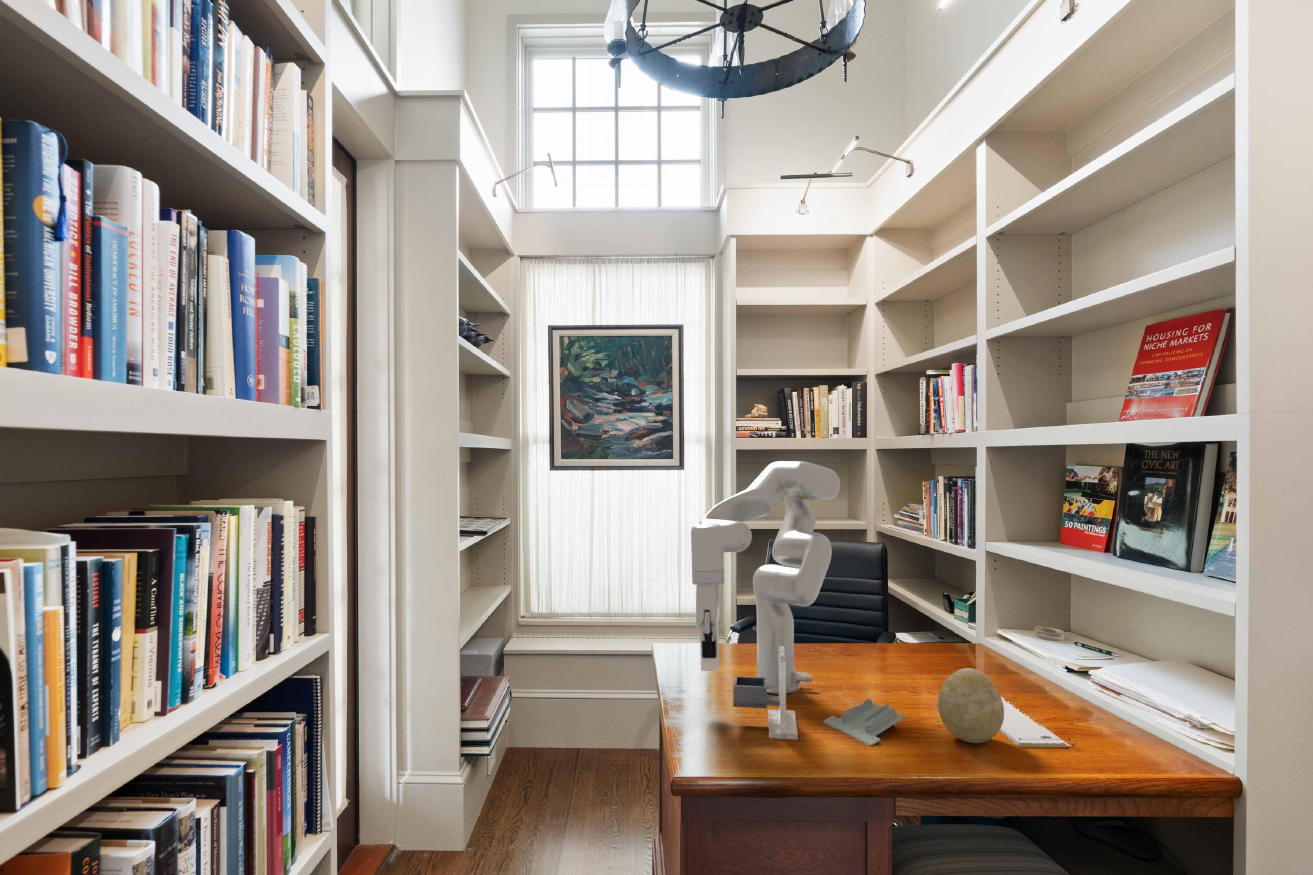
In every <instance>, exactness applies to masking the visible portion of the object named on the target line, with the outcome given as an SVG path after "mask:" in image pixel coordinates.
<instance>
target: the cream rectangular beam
mask: <svg viewBox="0 0 1313 875" xmlns="http://www.w3.org/2000/svg"><path fill="white" fill-rule="evenodd" d="M710 627H713V624H712V625H711V624H710ZM710 631H711V632H712V630H710ZM714 632H715V640H716V658H703V657H702V640H703V639H702V625H701V627H699V639H700V644H699V645H700V671H701V672H719V670H720V643H719V642H720V639H719V637H720V636H719V623H718V624H717V627H716V628H715V629H714Z"/></svg>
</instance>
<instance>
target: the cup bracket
mask: <svg viewBox="0 0 1313 875" xmlns="http://www.w3.org/2000/svg"><path fill="white" fill-rule="evenodd" d="M778 649H779V694H778V696H772V695H771V696H770V695H769V696H768V694H767V678H765V677H757V676H741V675H735V676H734V679H733V693H732V694H733V695H732V696H733V705H732V706H733V707H735V708H750V709H752V708H753V709H767V708H768V706H773V707H775V706H777V707H778V709H767V710H768V711H767V712H768V716H767V717H768V718H767V719H768V738H769V739H777V740H778V739H781V740H799V739H798V738H799V734H798V727H797V726H798V725H797V719H796V711H795V710H787V693H786V661H785V652H784V646H780V645H778Z"/></svg>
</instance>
